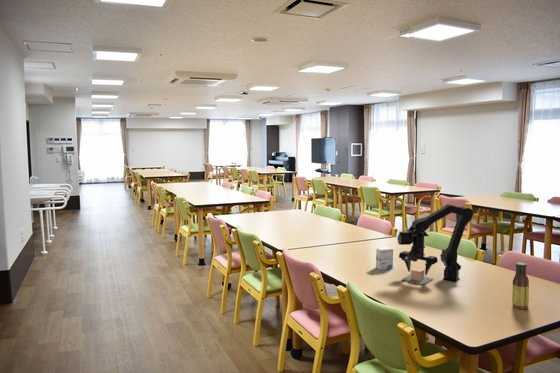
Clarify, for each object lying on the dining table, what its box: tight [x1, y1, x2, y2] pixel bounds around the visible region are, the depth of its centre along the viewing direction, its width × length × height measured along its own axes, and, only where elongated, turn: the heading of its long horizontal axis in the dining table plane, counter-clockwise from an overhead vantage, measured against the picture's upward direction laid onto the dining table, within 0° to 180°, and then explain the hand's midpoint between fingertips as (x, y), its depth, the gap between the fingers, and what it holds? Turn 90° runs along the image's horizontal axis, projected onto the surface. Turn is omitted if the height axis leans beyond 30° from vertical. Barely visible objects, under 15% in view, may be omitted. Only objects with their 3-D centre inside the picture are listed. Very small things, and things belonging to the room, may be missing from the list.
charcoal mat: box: [401, 273, 434, 286], centre depth 217 cm, size 12×12×1 cm
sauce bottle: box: [511, 261, 530, 310], centre depth 179 cm, size 7×6×20 cm
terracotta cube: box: [410, 267, 425, 281], centre depth 217 cm, size 5×5×5 cm
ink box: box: [375, 246, 394, 271], centre depth 237 cm, size 9×5×12 cm, turn 105°
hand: (417, 273), depth 217 cm, fingers open, 9 cm apart
